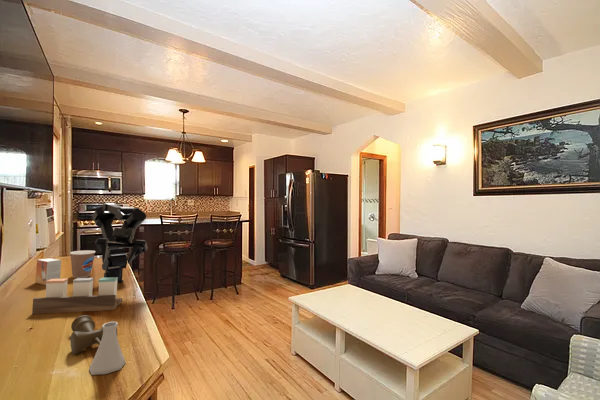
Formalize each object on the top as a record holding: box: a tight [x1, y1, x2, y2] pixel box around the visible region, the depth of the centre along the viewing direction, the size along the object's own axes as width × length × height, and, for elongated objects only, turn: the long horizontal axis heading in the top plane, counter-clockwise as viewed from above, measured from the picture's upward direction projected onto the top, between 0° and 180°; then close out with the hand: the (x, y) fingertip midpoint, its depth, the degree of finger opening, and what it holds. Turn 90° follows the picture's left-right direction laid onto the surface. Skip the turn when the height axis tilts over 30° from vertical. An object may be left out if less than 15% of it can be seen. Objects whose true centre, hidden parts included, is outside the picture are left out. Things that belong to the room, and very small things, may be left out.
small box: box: [34, 257, 62, 286], centre depth 130 cm, size 8×6×10 cm
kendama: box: [69, 314, 118, 356], centre depth 78 cm, size 6×10×20 cm
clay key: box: [44, 277, 69, 298], centre depth 102 cm, size 3×5×8 cm, turn 106°
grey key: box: [72, 277, 95, 296], centre depth 104 cm, size 3×5×8 cm, turn 106°
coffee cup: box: [69, 249, 96, 279], centre depth 144 cm, size 10×10×12 cm
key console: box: [31, 295, 123, 315], centre depth 103 cm, size 9×24×5 cm, turn 106°
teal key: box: [97, 277, 118, 297], centre depth 106 cm, size 3×5×8 cm, turn 106°
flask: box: [88, 321, 126, 376], centre depth 68 cm, size 7×7×10 cm
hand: (115, 262), depth 116 cm, fingers open, 9 cm apart
